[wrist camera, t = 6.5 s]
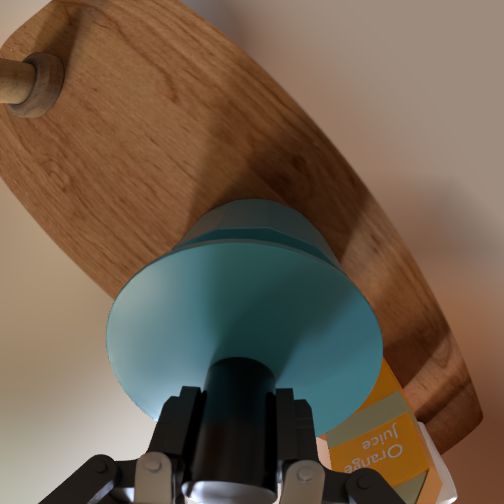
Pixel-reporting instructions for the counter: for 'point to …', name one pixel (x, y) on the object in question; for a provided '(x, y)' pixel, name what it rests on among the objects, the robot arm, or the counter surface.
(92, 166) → the counter surface
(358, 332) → the lid
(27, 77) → the mortar and pestle
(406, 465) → the orange juice
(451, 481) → the drinking glass
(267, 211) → the pot
